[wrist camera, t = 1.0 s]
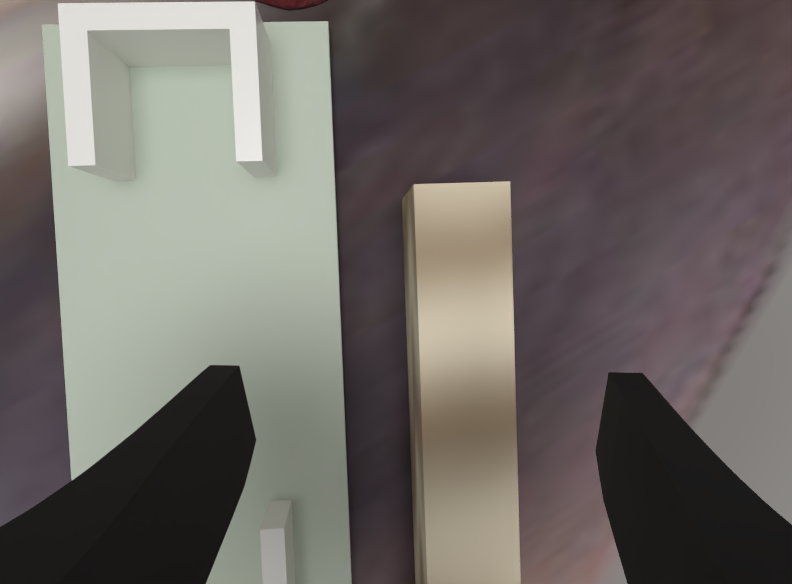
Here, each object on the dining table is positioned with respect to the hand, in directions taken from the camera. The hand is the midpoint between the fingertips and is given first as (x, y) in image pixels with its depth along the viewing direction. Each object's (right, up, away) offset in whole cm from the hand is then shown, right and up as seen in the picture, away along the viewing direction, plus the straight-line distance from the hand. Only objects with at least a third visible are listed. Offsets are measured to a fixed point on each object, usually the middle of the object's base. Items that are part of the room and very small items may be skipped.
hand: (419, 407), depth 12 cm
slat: (+2, -2, +12) cm, 13 cm away
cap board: (-8, 0, +11) cm, 14 cm away
